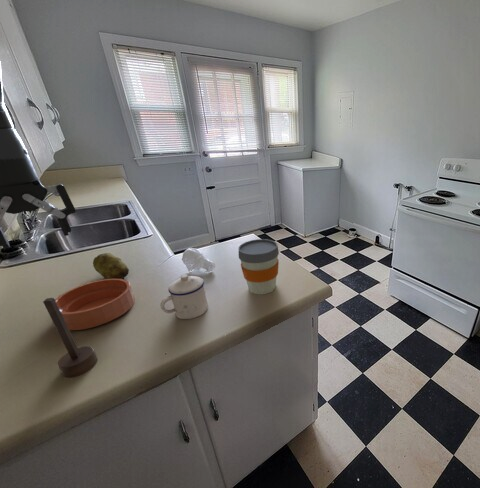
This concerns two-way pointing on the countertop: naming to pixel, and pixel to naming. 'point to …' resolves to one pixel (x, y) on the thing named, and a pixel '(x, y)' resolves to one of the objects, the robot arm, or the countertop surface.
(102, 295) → the bowl
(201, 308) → the teacup with lid
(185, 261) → the crumpled white tissue
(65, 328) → the wooden tamper
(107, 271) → the potato
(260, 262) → the reusable coffee cup
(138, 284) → the countertop surface
